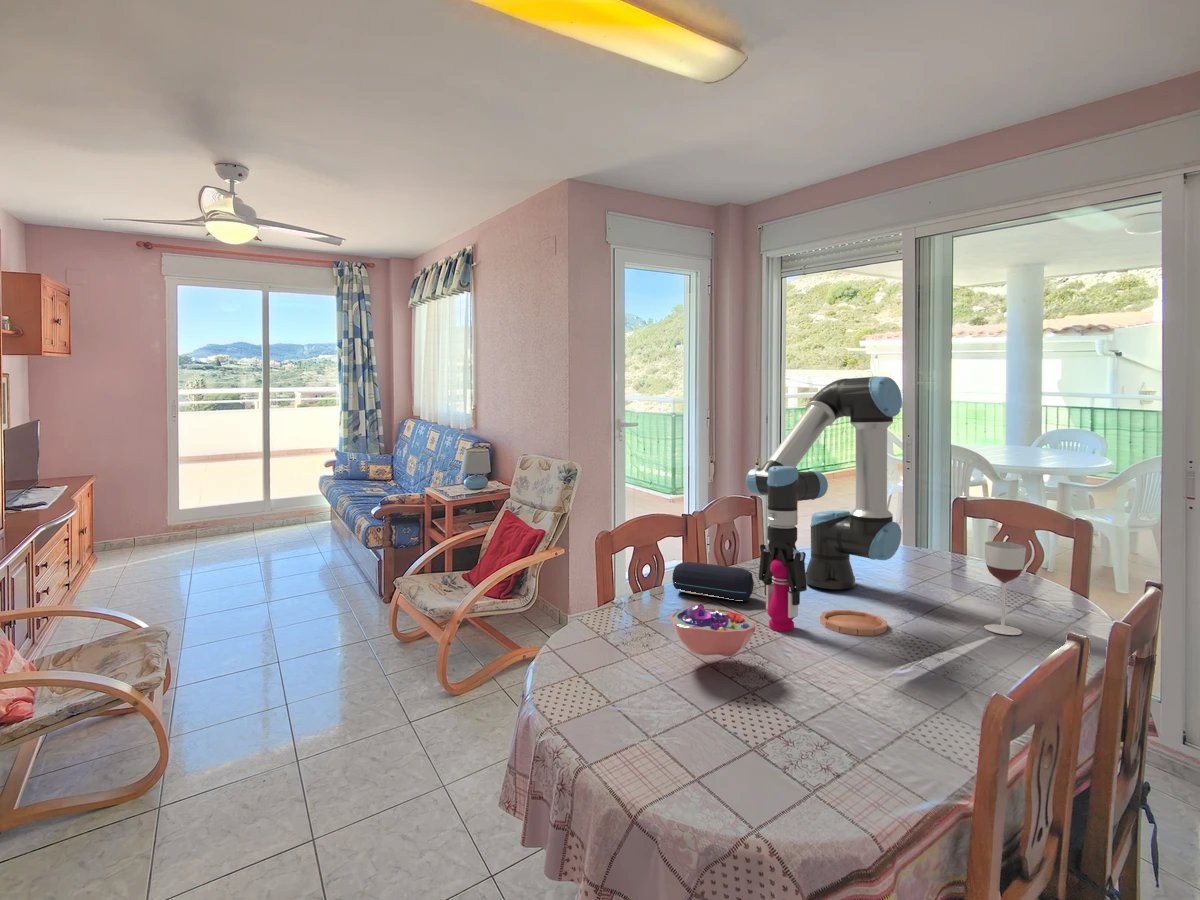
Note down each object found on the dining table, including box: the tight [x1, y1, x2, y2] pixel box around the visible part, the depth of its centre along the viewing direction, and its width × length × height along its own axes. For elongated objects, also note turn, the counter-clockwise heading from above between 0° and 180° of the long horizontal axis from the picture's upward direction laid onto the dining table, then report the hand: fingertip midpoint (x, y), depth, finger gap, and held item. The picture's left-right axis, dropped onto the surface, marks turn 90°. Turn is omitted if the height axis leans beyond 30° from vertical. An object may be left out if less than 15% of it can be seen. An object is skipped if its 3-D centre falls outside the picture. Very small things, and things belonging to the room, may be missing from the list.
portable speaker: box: [672, 561, 755, 602], centre depth 190 cm, size 25×10×10 cm, turn 59°
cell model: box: [669, 603, 757, 658], centre depth 144 cm, size 17×20×11 cm
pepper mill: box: [766, 559, 795, 633], centre depth 161 cm, size 7×7×20 cm
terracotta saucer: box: [819, 609, 888, 636], centre depth 164 cm, size 16×16×2 cm
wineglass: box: [983, 541, 1027, 636], centre depth 159 cm, size 9×10×22 cm
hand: (781, 612), depth 161 cm, fingers closed on pepper mill, 7 cm apart
